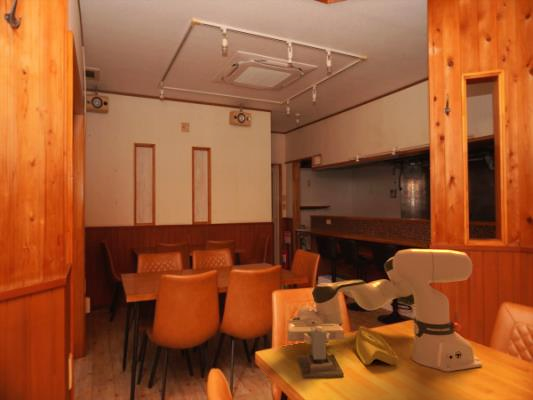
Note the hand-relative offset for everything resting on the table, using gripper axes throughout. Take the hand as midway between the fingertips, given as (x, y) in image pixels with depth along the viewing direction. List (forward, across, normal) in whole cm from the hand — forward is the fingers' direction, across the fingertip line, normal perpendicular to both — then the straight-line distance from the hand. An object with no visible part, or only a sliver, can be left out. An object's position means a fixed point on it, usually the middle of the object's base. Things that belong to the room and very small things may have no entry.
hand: (318, 340), depth 123 cm
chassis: (-1, 0, -9) cm, 9 cm away
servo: (-1, 0, -6) cm, 6 cm away
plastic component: (-9, -22, -10) cm, 26 cm away
